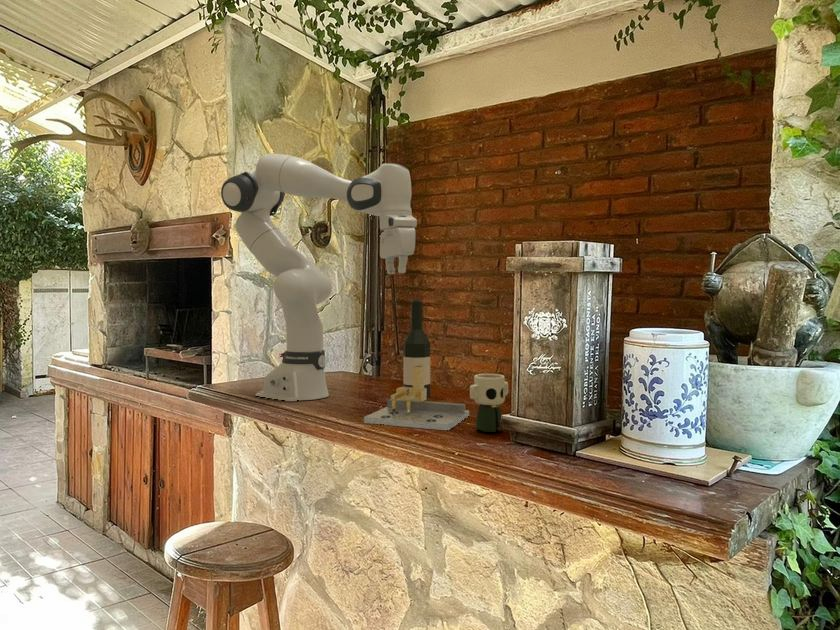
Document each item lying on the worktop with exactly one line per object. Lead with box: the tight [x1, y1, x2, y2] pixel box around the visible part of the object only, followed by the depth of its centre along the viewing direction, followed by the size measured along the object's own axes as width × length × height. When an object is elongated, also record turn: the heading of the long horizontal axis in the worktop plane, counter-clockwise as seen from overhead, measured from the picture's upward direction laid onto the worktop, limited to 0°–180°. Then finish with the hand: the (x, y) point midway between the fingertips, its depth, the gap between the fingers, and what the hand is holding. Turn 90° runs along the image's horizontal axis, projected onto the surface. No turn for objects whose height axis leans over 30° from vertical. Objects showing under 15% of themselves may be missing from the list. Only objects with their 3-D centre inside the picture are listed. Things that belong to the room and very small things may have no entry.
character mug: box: [469, 373, 509, 433], centre depth 140 cm, size 11×7×13 cm, turn 121°
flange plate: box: [363, 386, 470, 431], centre depth 153 cm, size 22×17×7 cm
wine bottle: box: [402, 298, 431, 399], centre depth 184 cm, size 8×8×30 cm
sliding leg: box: [405, 365, 428, 413], centre depth 156 cm, size 3×10×11 cm, turn 159°
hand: (396, 273), depth 166 cm, fingers open, 8 cm apart
